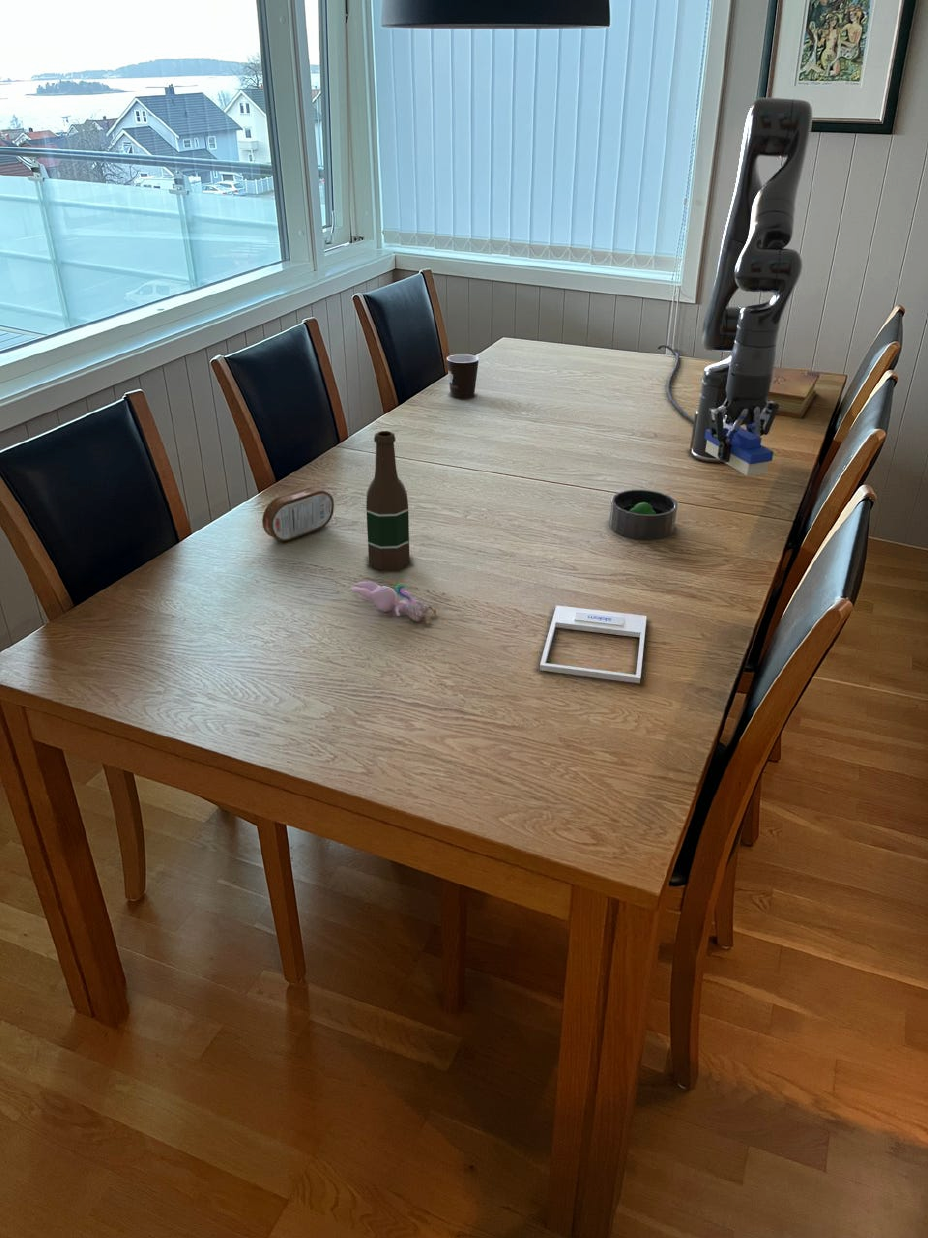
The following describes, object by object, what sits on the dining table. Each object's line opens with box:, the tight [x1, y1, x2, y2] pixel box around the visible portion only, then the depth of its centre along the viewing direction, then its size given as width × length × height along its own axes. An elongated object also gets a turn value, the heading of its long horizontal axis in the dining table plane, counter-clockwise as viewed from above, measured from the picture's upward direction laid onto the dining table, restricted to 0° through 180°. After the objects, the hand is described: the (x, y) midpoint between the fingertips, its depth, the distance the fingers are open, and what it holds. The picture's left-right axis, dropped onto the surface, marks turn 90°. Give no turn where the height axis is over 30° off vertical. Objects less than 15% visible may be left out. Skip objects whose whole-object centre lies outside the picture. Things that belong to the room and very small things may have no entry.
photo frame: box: [539, 604, 647, 684], centre depth 141 cm, size 15×1×18 cm
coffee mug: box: [446, 353, 480, 400], centre depth 249 cm, size 12×9×10 cm
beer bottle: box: [365, 430, 410, 572], centre depth 159 cm, size 8×8×24 cm
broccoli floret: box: [628, 502, 657, 515], centre depth 176 cm, size 5×6×5 cm
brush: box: [705, 423, 774, 477], centre depth 170 cm, size 14×5×6 cm, turn 22°
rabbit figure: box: [349, 580, 437, 626], centre depth 148 cm, size 6×6×15 cm
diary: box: [766, 366, 821, 419], centre depth 247 cm, size 23×19×6 cm
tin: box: [261, 485, 335, 542], centre depth 172 cm, size 15×3×8 cm, turn 134°
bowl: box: [608, 489, 678, 541], centre depth 177 cm, size 12×12×6 cm
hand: (735, 458), depth 171 cm, fingers closed on brush, 4 cm apart
